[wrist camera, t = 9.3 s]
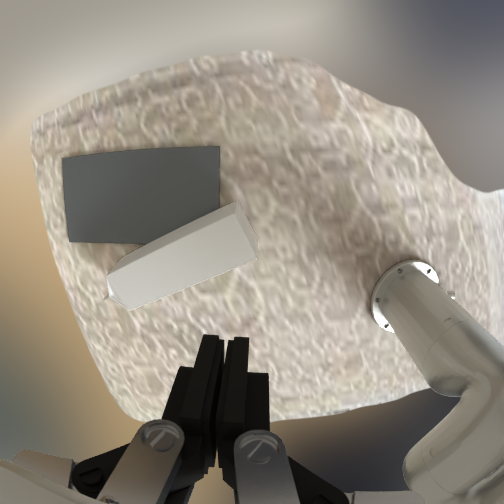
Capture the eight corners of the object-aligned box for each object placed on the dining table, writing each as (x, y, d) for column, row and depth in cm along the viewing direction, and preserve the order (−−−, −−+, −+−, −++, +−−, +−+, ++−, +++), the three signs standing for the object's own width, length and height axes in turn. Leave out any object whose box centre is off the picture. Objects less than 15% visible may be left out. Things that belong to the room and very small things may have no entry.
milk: (238, 199, 36) (107, 263, 40) (234, 213, 31) (89, 282, 35) (258, 240, 39) (128, 295, 43) (258, 260, 33) (114, 317, 37)
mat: (219, 146, 35) (219, 146, 35) (219, 244, 40) (218, 245, 39) (64, 158, 35) (62, 158, 35) (71, 240, 40) (69, 242, 39)
